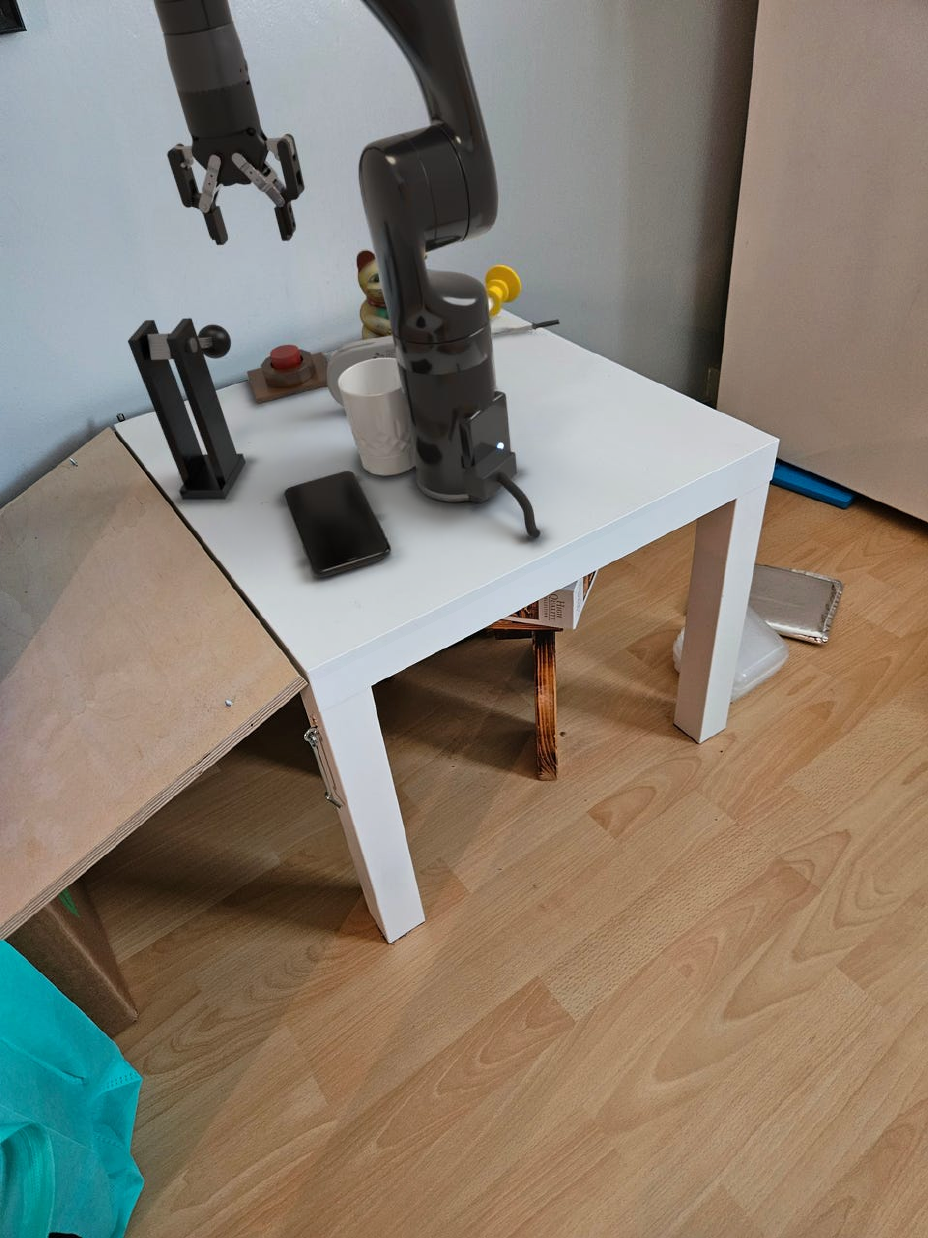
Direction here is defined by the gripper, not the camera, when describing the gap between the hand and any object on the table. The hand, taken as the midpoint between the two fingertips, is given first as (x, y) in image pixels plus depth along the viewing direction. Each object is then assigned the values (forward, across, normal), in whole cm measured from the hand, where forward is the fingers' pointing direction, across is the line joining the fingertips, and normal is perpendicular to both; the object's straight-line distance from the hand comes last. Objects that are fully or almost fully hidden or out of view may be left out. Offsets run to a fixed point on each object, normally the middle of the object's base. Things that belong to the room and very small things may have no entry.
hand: (255, 240), depth 104 cm
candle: (+15, +25, +20) cm, 35 cm away
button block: (+18, 0, 0) cm, 18 cm away
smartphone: (+18, +14, -30) cm, 38 cm away
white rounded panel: (+18, +17, -6) cm, 25 cm away
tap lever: (+6, -3, -18) cm, 19 cm away
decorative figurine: (+18, +13, +5) cm, 23 cm away
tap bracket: (+18, -3, -22) cm, 29 cm away
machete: (+18, +26, +9) cm, 33 cm away
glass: (+18, +17, -18) cm, 31 cm away
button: (+15, 0, 0) cm, 15 cm away
